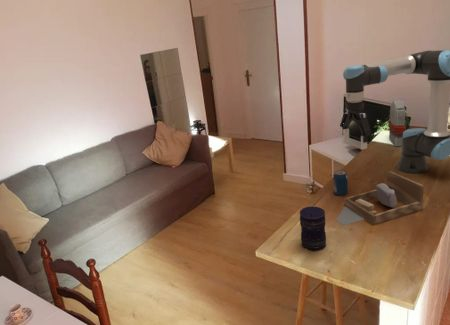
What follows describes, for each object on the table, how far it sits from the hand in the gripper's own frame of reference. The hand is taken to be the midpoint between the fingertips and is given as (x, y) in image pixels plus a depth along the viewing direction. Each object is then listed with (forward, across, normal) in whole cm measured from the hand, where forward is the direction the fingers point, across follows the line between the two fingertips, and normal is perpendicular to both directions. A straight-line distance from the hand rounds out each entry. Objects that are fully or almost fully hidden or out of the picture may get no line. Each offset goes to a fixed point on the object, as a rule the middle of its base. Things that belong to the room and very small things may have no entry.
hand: (354, 145), depth 163 cm
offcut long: (+28, +15, -5) cm, 32 cm away
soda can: (+28, -7, -3) cm, 29 cm away
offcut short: (+25, +14, -5) cm, 30 cm away
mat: (+28, +12, -15) cm, 34 cm away
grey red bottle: (+28, -56, +73) cm, 96 cm away
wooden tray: (+28, +14, +4) cm, 32 cm away
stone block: (+28, +14, +6) cm, 32 cm away
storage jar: (+28, +26, -38) cm, 54 cm away
